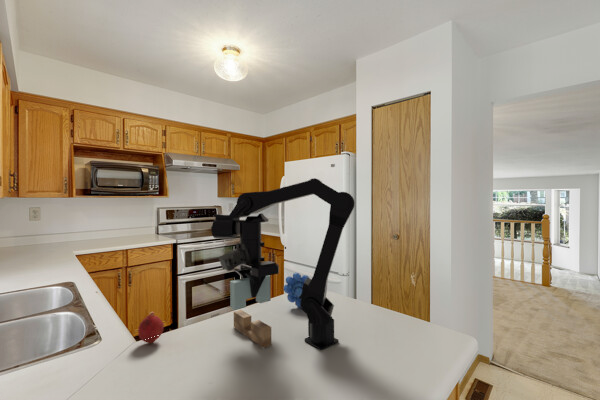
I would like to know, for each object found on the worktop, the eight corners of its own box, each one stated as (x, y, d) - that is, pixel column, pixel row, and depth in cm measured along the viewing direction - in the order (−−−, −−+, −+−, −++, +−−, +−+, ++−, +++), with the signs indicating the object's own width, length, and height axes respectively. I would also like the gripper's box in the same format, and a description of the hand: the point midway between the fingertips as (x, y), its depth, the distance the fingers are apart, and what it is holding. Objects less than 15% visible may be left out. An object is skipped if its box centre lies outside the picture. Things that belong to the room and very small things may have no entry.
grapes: (281, 311, 96) (281, 275, 96) (284, 304, 103) (284, 270, 103) (316, 312, 95) (316, 276, 95) (317, 305, 102) (317, 271, 102)
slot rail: (271, 345, 74) (271, 327, 74) (263, 348, 72) (263, 329, 72) (241, 325, 86) (241, 309, 86) (233, 327, 85) (233, 311, 85)
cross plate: (270, 300, 82) (270, 275, 82) (234, 310, 75) (234, 282, 75) (265, 298, 84) (265, 274, 84) (230, 307, 77) (230, 281, 77)
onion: (153, 350, 72) (152, 317, 72) (132, 347, 73) (132, 315, 73) (168, 339, 77) (168, 309, 78) (149, 337, 79) (149, 307, 79)
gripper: (208, 238, 82) (209, 294, 81) (240, 245, 67) (241, 313, 67) (244, 235, 89) (244, 286, 88) (279, 240, 74) (280, 302, 74)
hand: (251, 296), depth 79 cm, fingers closed on cross plate, 2 cm apart
